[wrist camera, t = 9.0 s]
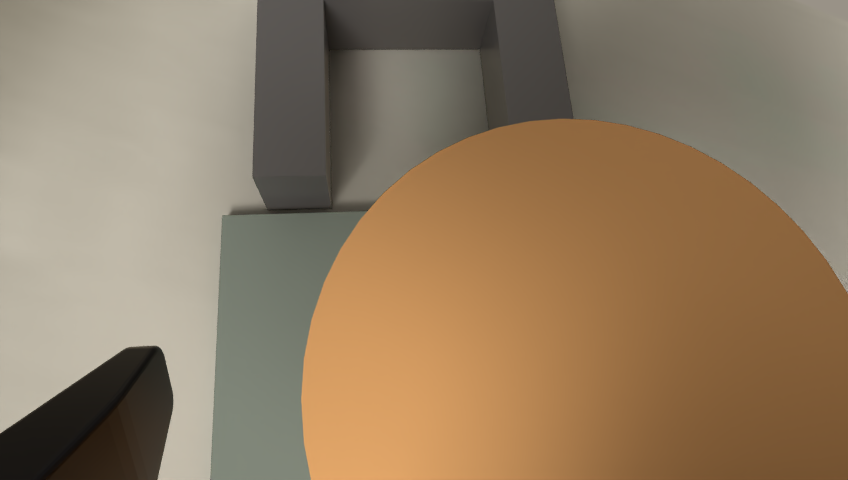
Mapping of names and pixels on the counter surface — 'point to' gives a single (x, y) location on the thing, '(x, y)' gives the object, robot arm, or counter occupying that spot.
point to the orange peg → (576, 321)
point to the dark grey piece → (387, 29)
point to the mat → (268, 338)
